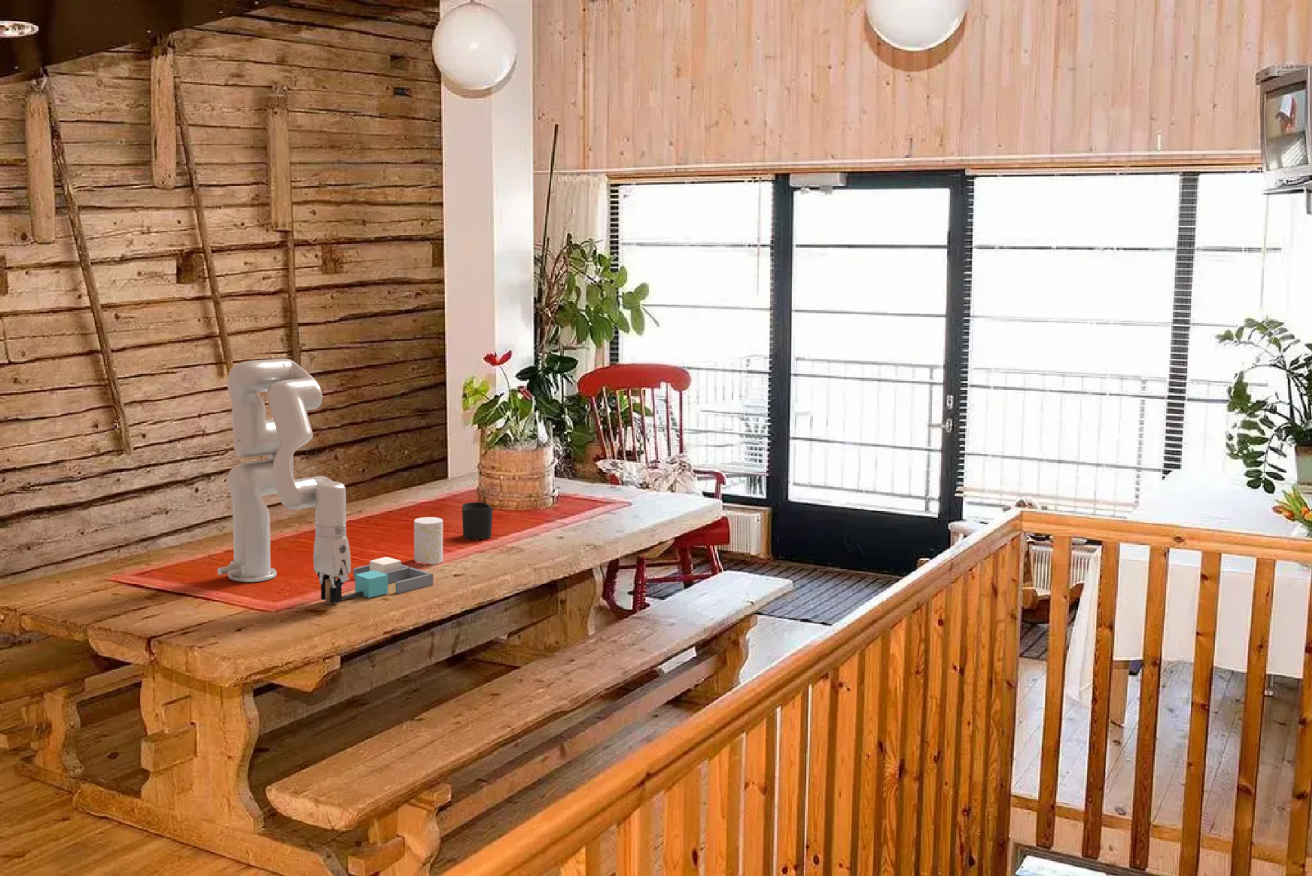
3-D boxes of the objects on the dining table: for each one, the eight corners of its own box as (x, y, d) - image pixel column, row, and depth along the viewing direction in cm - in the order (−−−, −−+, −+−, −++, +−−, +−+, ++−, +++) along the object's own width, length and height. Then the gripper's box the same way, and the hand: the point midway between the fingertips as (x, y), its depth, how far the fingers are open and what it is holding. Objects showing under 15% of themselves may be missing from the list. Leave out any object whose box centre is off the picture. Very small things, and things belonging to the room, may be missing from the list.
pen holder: (496, 534, 409) (496, 503, 407) (487, 541, 400) (487, 510, 398) (467, 532, 410) (467, 501, 409) (457, 539, 401) (458, 507, 400)
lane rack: (398, 593, 343) (398, 582, 343) (353, 578, 355) (353, 568, 355) (433, 584, 353) (433, 574, 352) (388, 570, 364) (388, 560, 364)
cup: (419, 565, 371) (419, 524, 369) (410, 558, 378) (410, 518, 376) (446, 562, 374) (446, 522, 372) (437, 555, 382) (437, 516, 379)
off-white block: (384, 582, 353) (384, 564, 353) (369, 578, 357) (369, 560, 356) (401, 578, 358) (401, 560, 357) (386, 574, 362) (386, 556, 361)
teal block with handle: (333, 606, 330) (333, 583, 329) (319, 601, 334) (319, 578, 333) (387, 593, 343) (387, 571, 342) (373, 588, 347) (373, 566, 346)
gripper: (362, 534, 328) (363, 604, 331) (323, 522, 338) (324, 590, 341) (338, 539, 322) (338, 610, 325) (299, 527, 332) (299, 596, 335)
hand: (331, 599), depth 333 cm, fingers closed on teal block with handle, 3 cm apart
